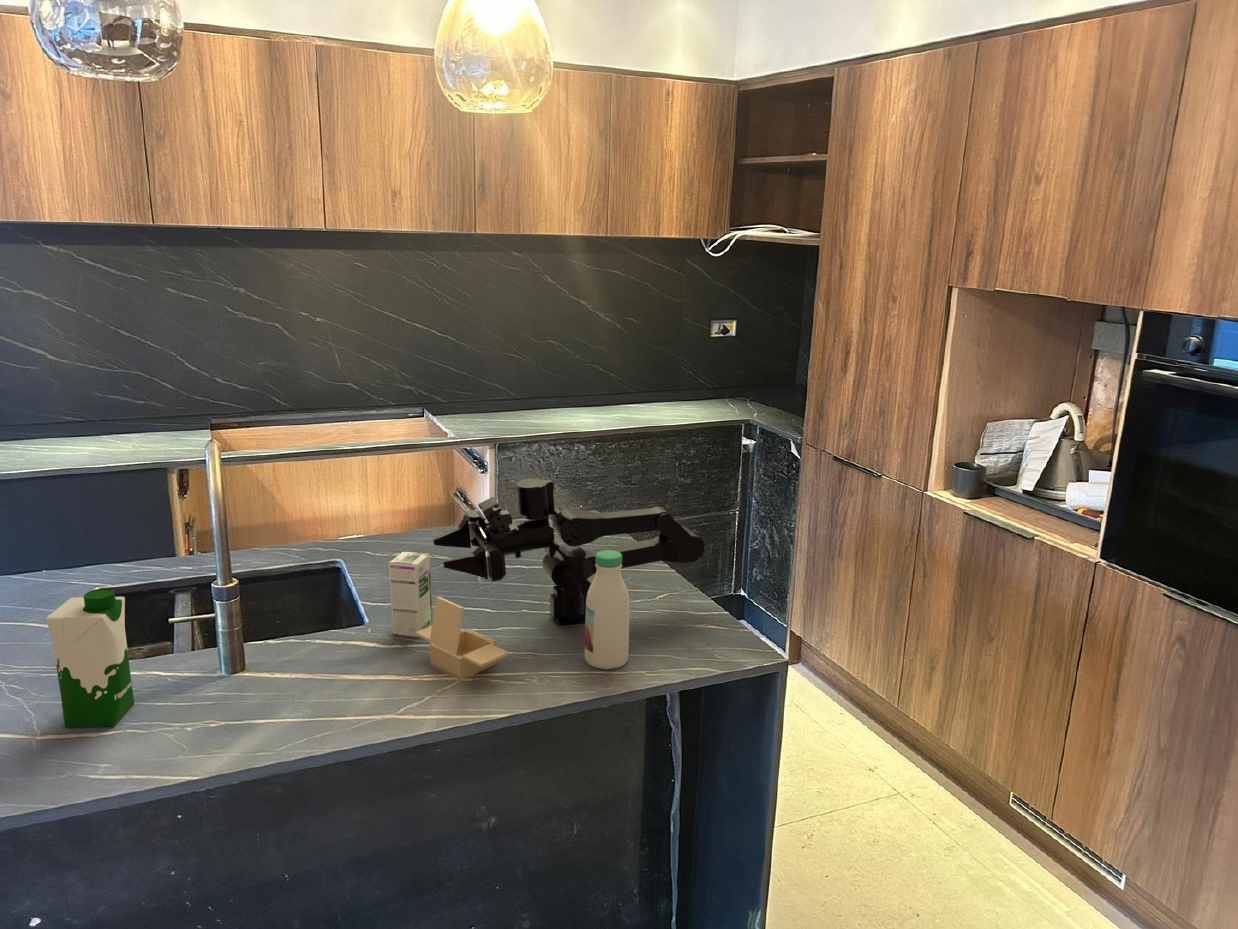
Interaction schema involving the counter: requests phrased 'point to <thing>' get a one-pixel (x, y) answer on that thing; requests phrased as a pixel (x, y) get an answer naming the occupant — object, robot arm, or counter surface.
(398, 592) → the syrup box
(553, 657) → the counter surface
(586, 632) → the milk bottle
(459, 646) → the carton
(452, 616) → the back flap
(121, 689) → the milk carton
